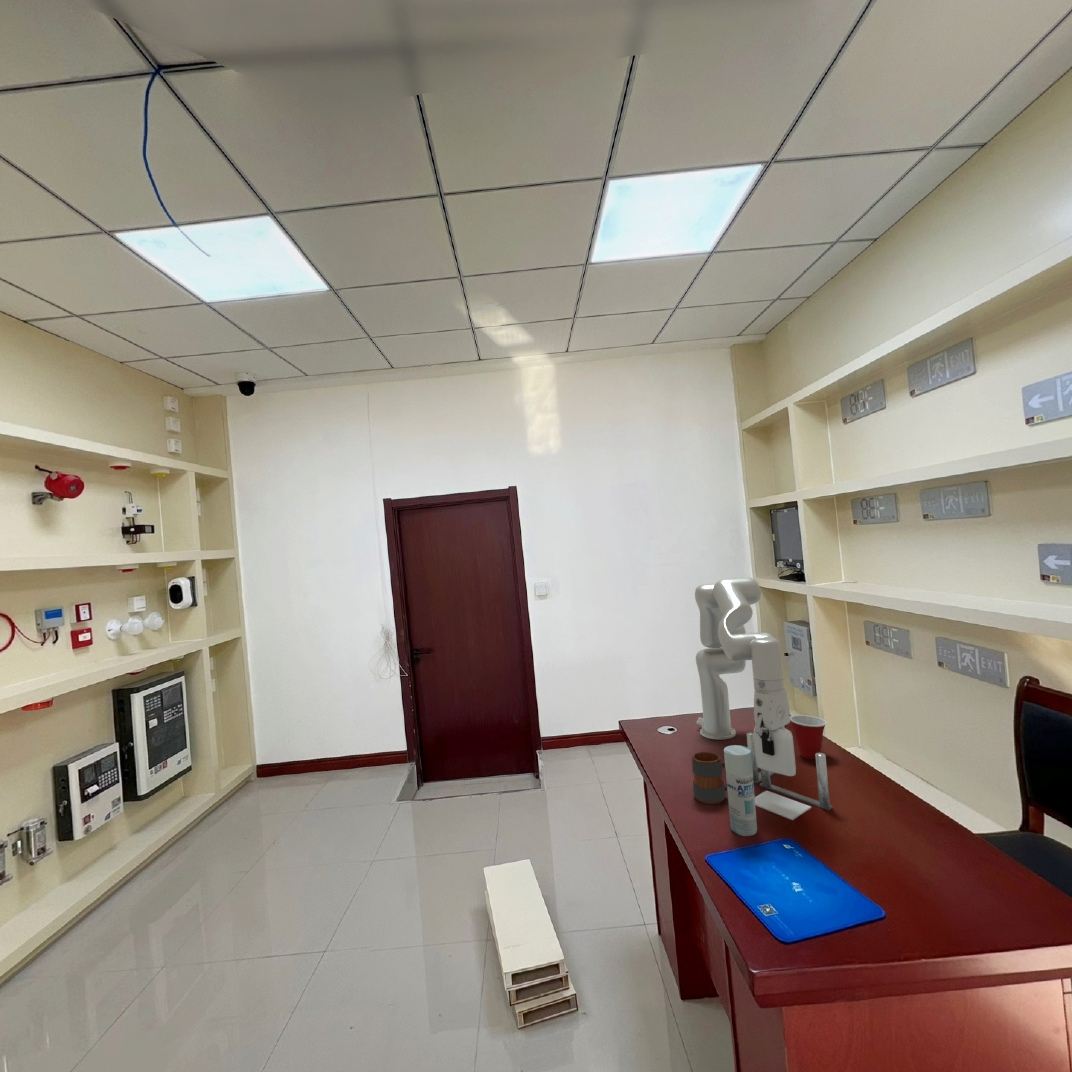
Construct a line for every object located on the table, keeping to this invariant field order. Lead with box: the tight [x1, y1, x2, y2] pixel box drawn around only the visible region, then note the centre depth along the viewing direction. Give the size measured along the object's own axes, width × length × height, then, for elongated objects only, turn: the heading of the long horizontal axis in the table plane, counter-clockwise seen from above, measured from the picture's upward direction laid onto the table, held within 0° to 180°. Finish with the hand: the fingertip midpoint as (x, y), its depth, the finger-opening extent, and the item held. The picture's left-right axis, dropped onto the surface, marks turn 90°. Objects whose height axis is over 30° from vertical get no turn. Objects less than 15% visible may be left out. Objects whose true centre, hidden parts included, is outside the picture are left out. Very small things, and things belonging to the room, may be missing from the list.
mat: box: [755, 790, 812, 821], centre depth 148 cm, size 13×9×1 cm
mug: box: [691, 751, 728, 805], centre depth 155 cm, size 9×12×12 cm
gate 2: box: [759, 752, 833, 811], centre depth 152 cm, size 20×2×14 cm, turn 34°
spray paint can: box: [723, 744, 758, 837], centre depth 138 cm, size 6×6×20 cm
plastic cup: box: [790, 714, 827, 760], centre depth 178 cm, size 11×11×12 cm
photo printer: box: [753, 725, 797, 777], centre depth 148 cm, size 10×4×12 cm, turn 39°
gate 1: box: [746, 731, 777, 784], centre depth 168 cm, size 3×17×14 cm, turn 124°
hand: (774, 750), depth 148 cm, fingers closed on photo printer, 4 cm apart
